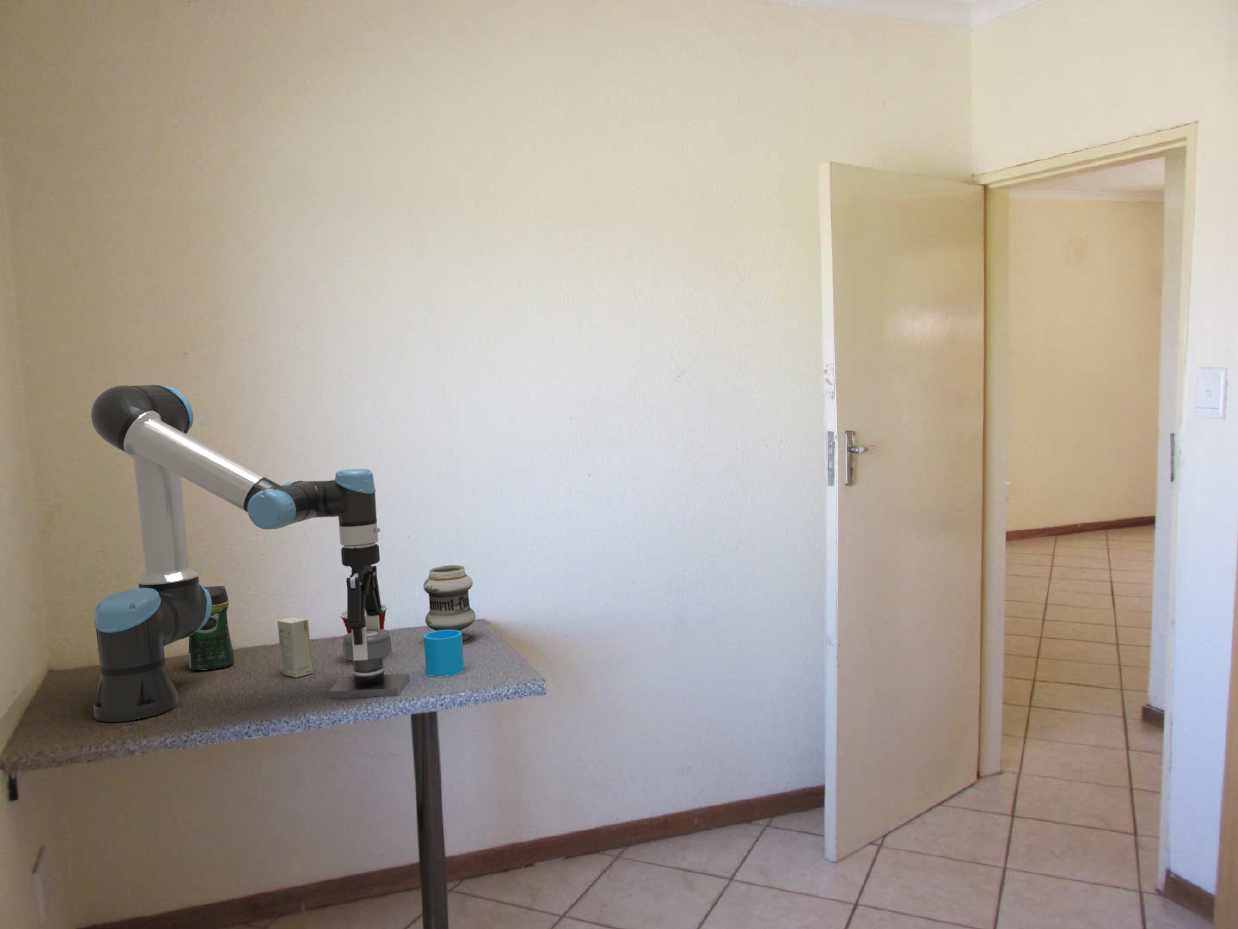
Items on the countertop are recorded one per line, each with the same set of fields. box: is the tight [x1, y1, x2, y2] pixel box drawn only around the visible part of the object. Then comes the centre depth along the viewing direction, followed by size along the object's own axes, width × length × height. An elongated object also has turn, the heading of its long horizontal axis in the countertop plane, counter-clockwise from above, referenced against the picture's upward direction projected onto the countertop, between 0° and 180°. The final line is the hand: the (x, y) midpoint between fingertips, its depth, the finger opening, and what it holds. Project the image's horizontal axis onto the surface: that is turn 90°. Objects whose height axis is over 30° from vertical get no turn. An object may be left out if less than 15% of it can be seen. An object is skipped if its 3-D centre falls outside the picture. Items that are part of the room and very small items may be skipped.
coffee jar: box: [188, 585, 235, 671], centre depth 224 cm, size 10×8×19 cm
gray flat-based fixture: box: [327, 656, 410, 699], centre depth 201 cm, size 14×10×10 cm
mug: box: [423, 630, 465, 677], centre depth 213 cm, size 12×8×8 cm
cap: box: [342, 629, 393, 661], centre depth 200 cm, size 9×9×4 cm
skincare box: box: [277, 616, 314, 678], centre depth 215 cm, size 6×4×12 cm
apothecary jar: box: [423, 564, 477, 645], centre depth 237 cm, size 12×12×18 cm
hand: (367, 653), depth 200 cm, fingers closed on cap, 9 cm apart
